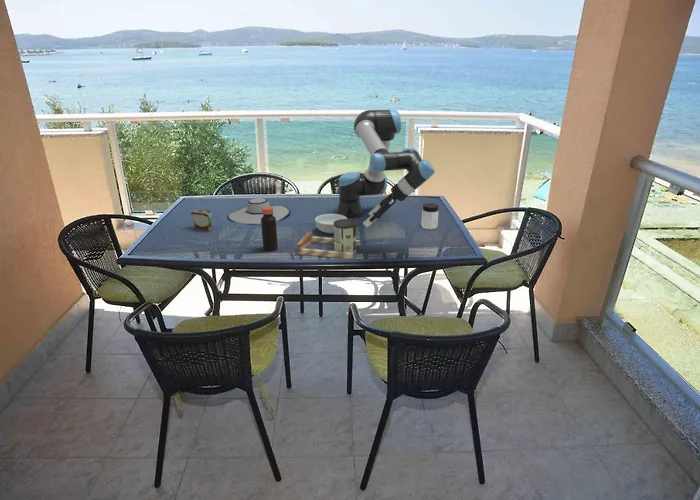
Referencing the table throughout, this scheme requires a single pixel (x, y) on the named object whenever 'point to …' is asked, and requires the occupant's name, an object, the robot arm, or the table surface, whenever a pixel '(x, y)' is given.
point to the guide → (307, 241)
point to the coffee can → (345, 235)
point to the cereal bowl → (327, 222)
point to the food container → (202, 219)
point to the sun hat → (257, 212)
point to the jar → (430, 216)
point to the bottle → (269, 229)
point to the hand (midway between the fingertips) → (368, 220)
